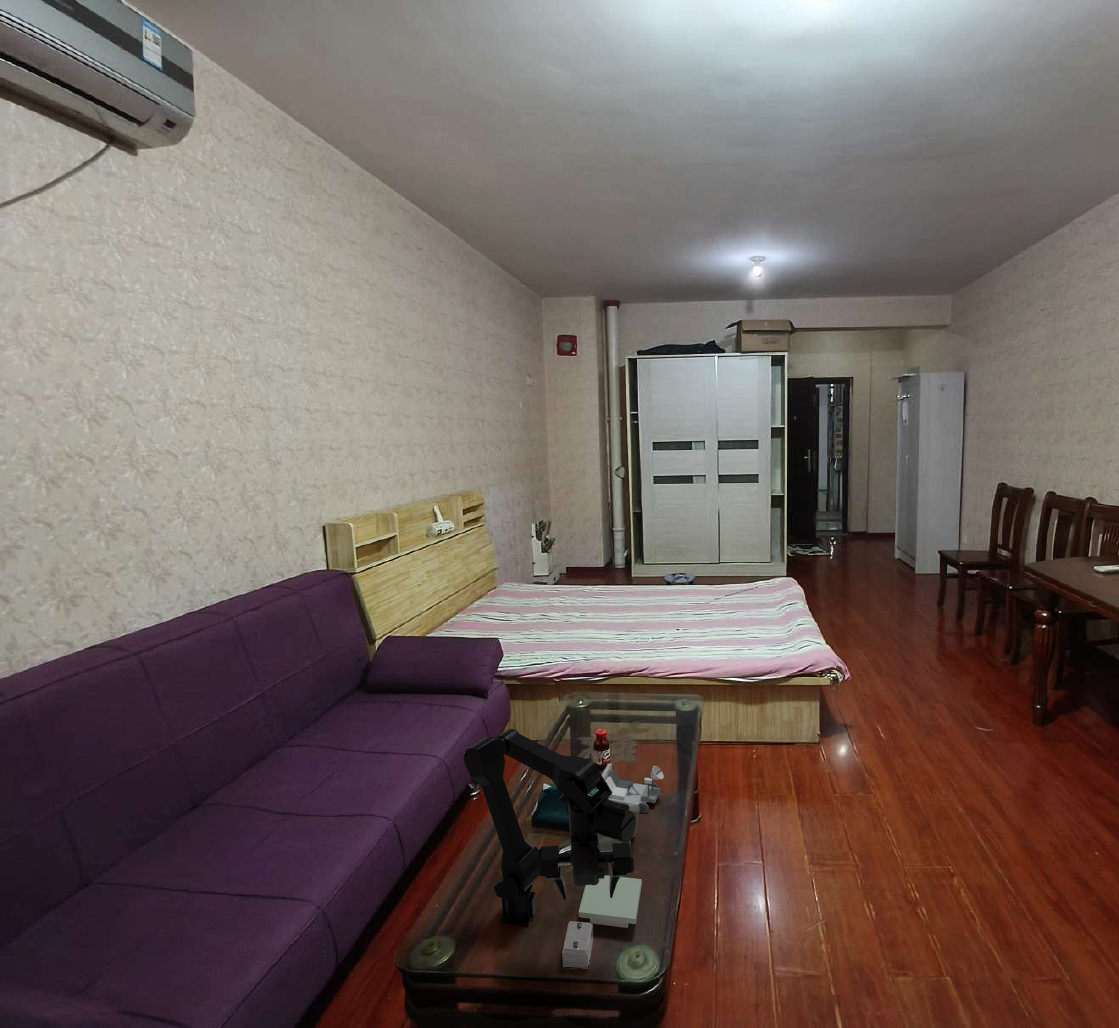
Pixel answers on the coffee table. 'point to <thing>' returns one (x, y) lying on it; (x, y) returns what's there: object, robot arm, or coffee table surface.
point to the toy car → (633, 788)
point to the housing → (578, 944)
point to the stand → (611, 902)
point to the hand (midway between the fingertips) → (588, 897)
